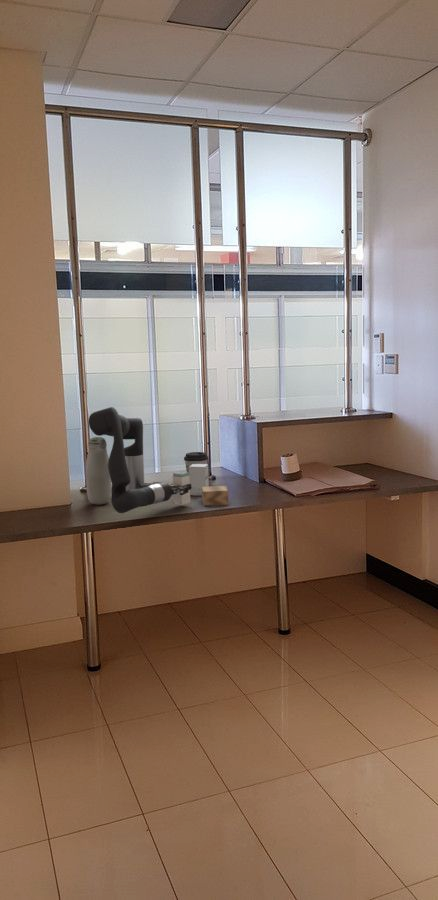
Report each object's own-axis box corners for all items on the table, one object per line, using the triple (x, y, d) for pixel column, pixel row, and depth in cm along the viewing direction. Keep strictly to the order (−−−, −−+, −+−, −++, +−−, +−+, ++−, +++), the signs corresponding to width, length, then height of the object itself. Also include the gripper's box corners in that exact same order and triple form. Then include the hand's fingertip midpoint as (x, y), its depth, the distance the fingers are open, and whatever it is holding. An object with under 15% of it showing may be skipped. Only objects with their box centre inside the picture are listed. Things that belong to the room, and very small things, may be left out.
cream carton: (182, 504, 282) (181, 474, 280) (173, 503, 285) (172, 473, 283) (190, 502, 285) (189, 472, 283) (181, 500, 288) (180, 471, 286)
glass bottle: (84, 507, 289) (80, 438, 284) (92, 501, 299) (88, 435, 294) (108, 507, 287) (104, 438, 283) (115, 501, 297) (111, 435, 293)
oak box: (203, 506, 285) (203, 491, 284) (202, 500, 295) (201, 486, 294) (228, 505, 286) (227, 490, 285) (226, 499, 296) (225, 485, 295)
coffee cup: (213, 486, 322) (212, 454, 320) (189, 489, 318) (188, 456, 316) (204, 482, 332) (203, 450, 330) (181, 484, 328) (180, 452, 326)
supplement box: (205, 495, 304) (204, 466, 302) (189, 495, 305) (188, 466, 303) (209, 492, 311) (208, 463, 309) (193, 491, 312) (192, 463, 310)
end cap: (141, 501, 297) (140, 485, 296) (138, 497, 304) (138, 482, 303) (165, 499, 300) (164, 483, 299) (161, 495, 307) (161, 480, 306)
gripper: (170, 485, 268) (199, 478, 281) (143, 481, 277) (172, 474, 290) (170, 505, 269) (199, 496, 282) (143, 500, 278) (172, 492, 291)
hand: (185, 485), depth 286 cm, fingers closed on cream carton, 4 cm apart
